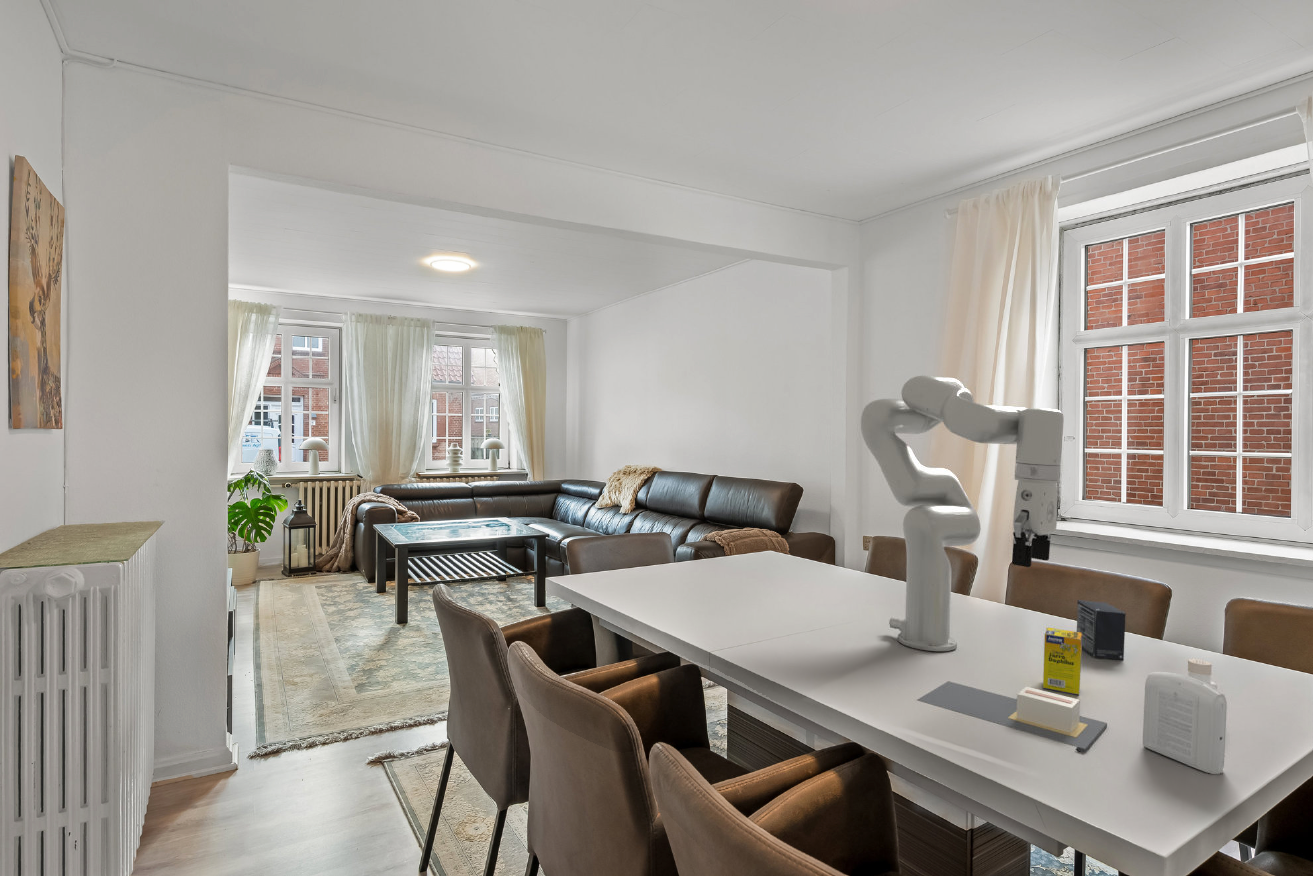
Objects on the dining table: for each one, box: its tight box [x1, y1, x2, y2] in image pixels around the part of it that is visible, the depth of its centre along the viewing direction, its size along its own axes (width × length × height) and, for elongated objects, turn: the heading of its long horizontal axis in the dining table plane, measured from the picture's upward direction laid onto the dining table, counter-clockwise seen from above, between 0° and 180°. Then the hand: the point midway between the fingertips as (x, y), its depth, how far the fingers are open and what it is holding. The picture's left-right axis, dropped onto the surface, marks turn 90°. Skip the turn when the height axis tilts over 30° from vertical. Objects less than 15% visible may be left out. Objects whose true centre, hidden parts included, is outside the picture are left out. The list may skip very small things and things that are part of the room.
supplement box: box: [1042, 627, 1083, 697], centre depth 132 cm, size 6×6×11 cm
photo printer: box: [1142, 671, 1228, 775], centre depth 104 cm, size 10×4×12 cm, turn 24°
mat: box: [916, 680, 1108, 754], centre depth 120 cm, size 26×14×1 cm, turn 46°
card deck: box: [1016, 686, 1081, 733], centre depth 116 cm, size 5×8×4 cm, turn 46°
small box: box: [1076, 599, 1127, 661], centre depth 157 cm, size 11×6×10 cm, turn 168°
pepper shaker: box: [1187, 658, 1218, 690], centre depth 121 cm, size 4×4×10 cm
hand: (1030, 562), depth 134 cm, fingers open, 9 cm apart
